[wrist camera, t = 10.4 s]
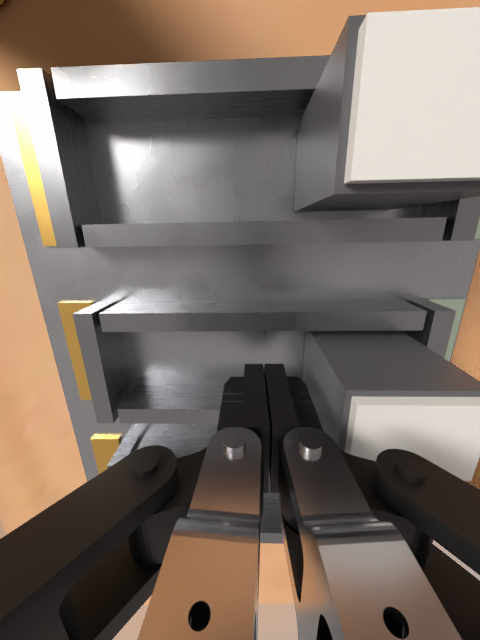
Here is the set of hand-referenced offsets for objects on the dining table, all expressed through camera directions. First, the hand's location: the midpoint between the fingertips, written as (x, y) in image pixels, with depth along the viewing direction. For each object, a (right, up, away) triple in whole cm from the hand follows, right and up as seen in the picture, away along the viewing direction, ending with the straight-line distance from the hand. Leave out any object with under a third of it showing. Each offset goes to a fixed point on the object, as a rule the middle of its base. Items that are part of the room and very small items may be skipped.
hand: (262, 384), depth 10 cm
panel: (0, +1, +4) cm, 5 cm away
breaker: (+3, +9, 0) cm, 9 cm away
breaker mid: (+4, +1, +3) cm, 5 cm away
